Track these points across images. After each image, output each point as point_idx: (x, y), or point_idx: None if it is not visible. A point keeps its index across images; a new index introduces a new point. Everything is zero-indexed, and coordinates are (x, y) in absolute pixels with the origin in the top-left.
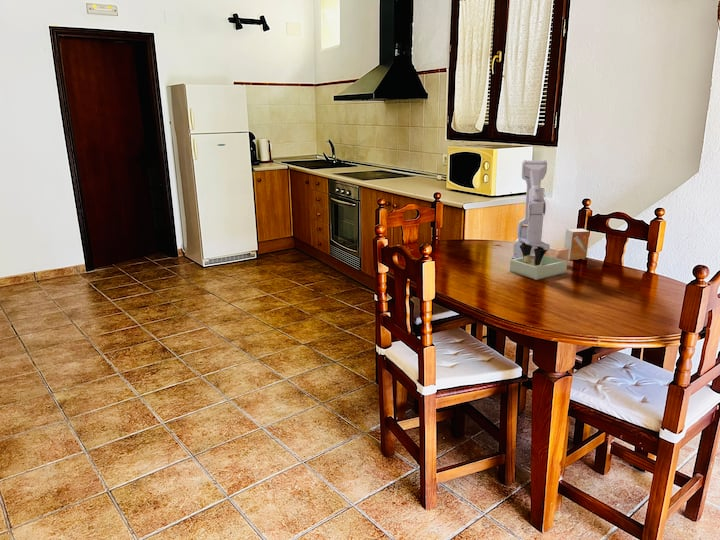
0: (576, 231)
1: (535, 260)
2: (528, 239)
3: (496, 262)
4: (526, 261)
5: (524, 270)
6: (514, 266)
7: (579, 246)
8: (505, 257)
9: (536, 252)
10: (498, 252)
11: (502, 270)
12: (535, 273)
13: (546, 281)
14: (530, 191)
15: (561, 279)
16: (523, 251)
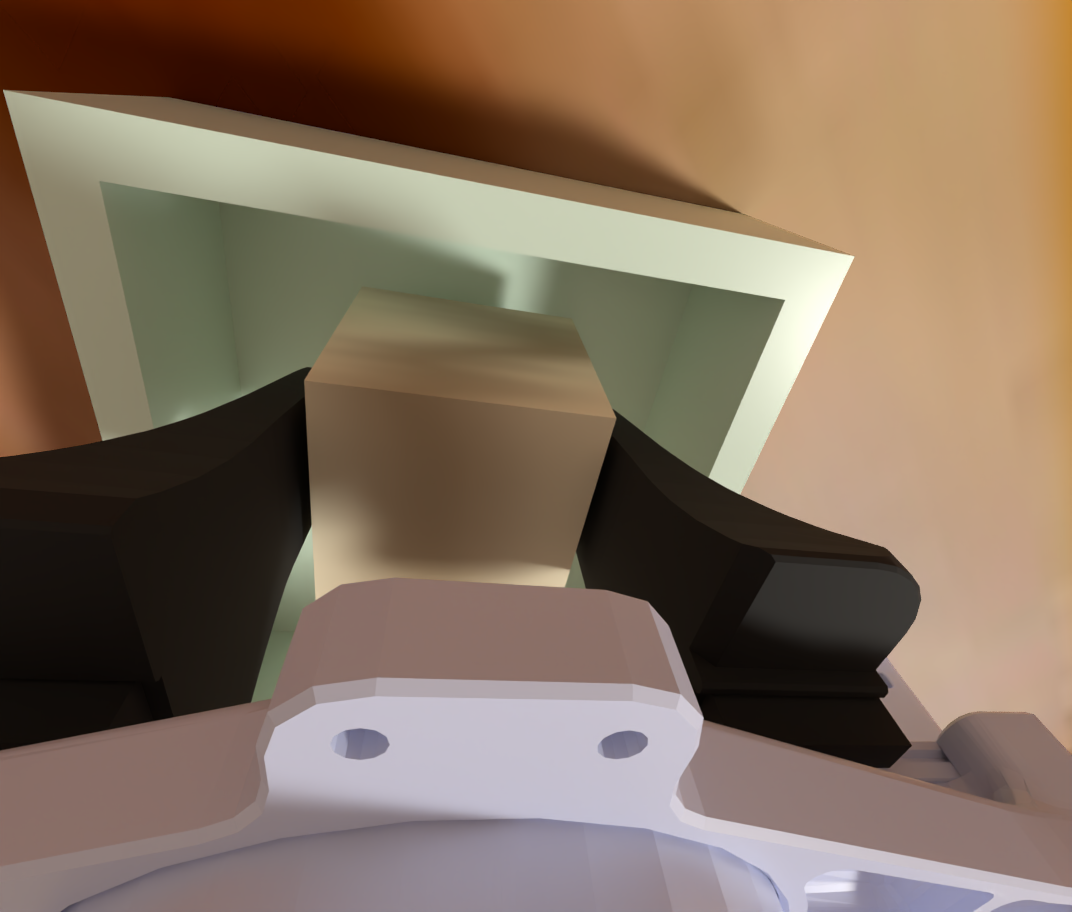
0: None
1: (290, 393)
2: None
3: (1007, 437)
4: (524, 360)
5: (448, 163)
6: (697, 213)
7: None
8: (944, 616)
9: (83, 467)
10: (1031, 672)
11: (856, 176)
12: (137, 101)
13: (16, 164)
14: None
15: (37, 422)
16: (688, 493)
